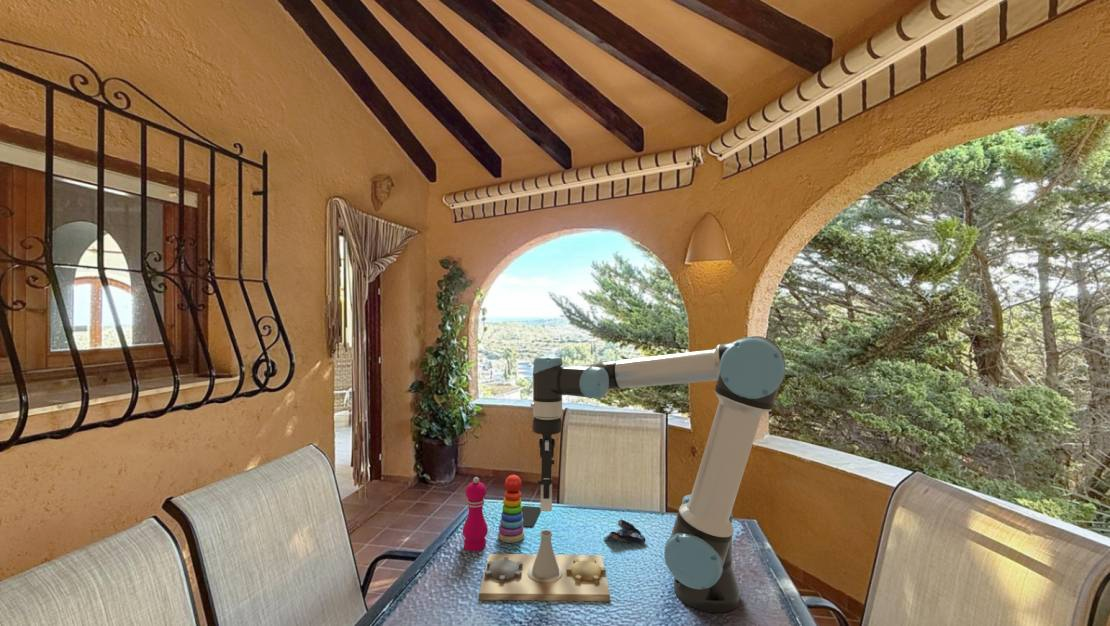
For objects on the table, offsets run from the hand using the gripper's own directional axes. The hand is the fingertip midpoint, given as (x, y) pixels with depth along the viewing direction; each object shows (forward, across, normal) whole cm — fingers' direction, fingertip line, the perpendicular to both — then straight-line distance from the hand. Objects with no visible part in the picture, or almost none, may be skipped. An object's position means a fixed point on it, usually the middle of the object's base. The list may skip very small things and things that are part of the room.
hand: (546, 499), depth 117 cm
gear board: (+20, 0, 0) cm, 20 cm away
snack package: (+21, -22, +24) cm, 39 cm away
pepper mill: (+20, -16, -21) cm, 33 cm away
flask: (+18, 0, 0) cm, 19 cm away
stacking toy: (+20, -22, -11) cm, 32 cm away
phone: (+21, -36, -7) cm, 42 cm away
